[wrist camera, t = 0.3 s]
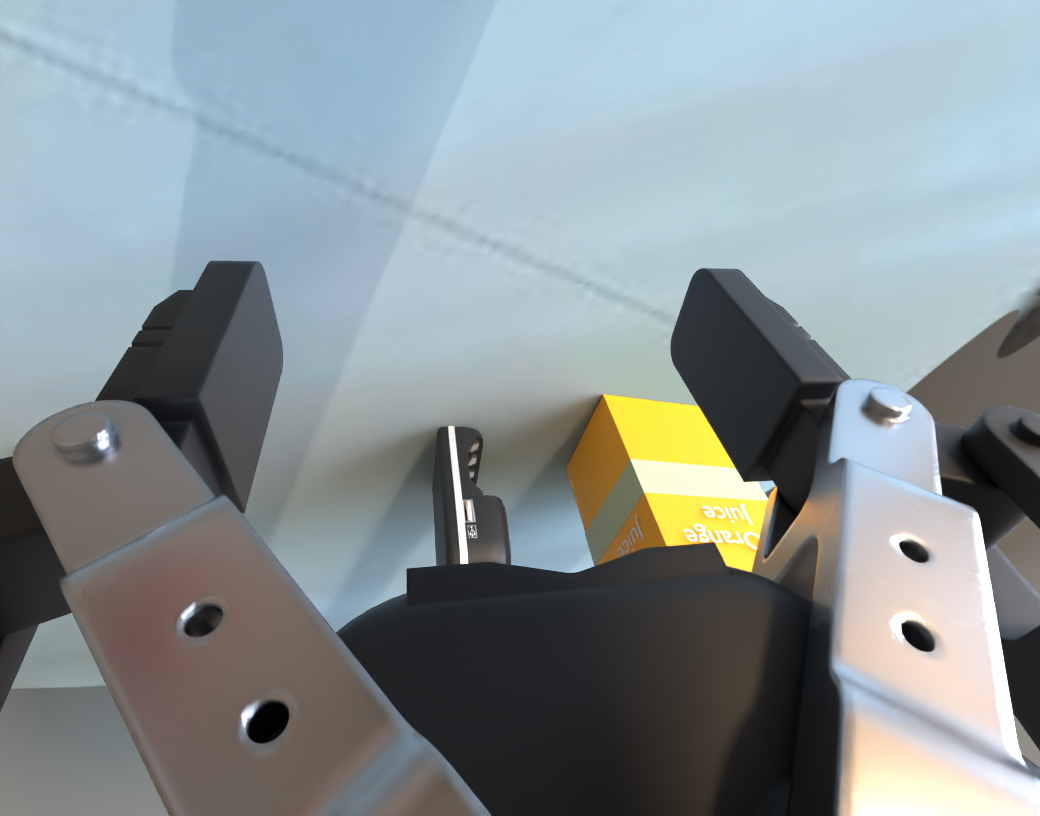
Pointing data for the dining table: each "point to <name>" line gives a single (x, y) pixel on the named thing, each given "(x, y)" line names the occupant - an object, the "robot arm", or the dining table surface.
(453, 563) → the battery charger
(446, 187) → the dining table surface
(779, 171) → the dining table surface
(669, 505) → the orange juice
